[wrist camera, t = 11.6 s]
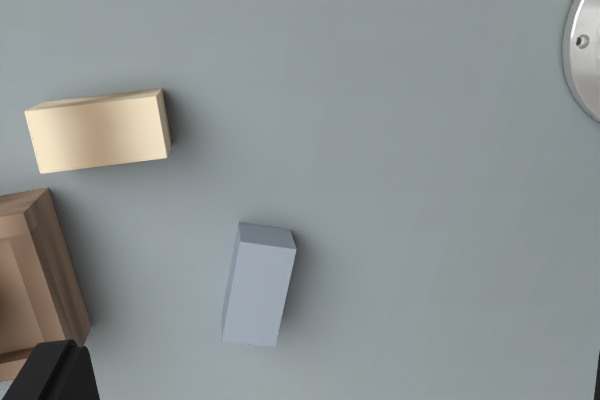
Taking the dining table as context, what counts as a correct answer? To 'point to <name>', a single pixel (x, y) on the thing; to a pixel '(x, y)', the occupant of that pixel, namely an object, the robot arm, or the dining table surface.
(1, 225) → the walnut tray
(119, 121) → the maple brick
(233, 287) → the slate brick
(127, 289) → the dining table surface
